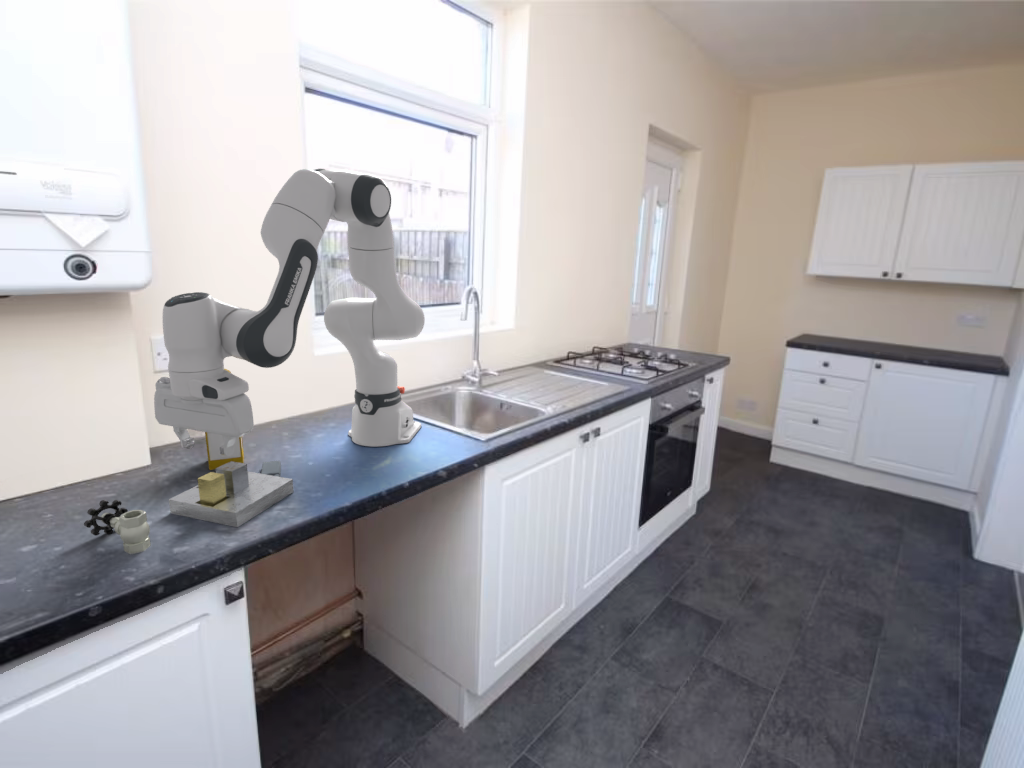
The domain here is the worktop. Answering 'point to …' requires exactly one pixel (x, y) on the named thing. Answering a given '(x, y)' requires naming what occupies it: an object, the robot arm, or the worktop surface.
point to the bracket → (271, 468)
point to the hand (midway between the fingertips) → (207, 450)
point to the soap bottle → (214, 451)
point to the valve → (122, 525)
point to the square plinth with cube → (234, 496)
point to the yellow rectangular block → (212, 489)
